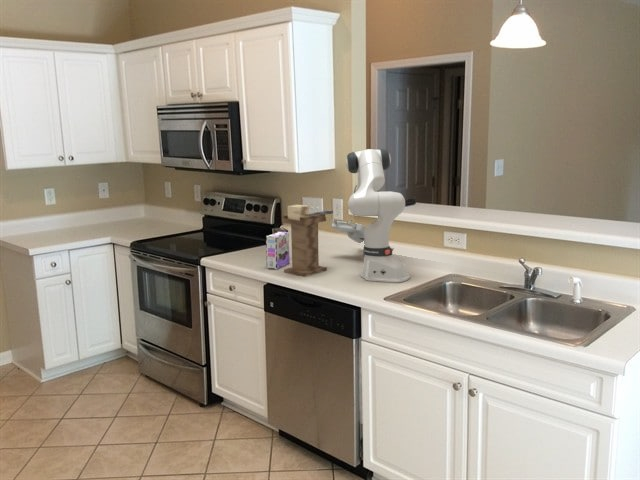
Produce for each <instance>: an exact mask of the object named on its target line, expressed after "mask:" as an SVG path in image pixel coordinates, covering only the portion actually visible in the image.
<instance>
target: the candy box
mask: <svg viewBox="0 0 640 480" xmlns="http://www.w3.org/2000/svg"><path fill="white" fill-rule="evenodd" d="M265 244H266V245H265V247H266V248H265V250H266V252H265V254H266V255H265V256H266V269H270V270H279V269H281V268H284V267H286V266H287V265H289V264H291V263H290V235H289V231H288V232H278V233H275V234H273V233H272V234H269V235H266V236H265Z"/></svg>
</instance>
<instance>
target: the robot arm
mask: <svg viewBox="0 0 640 480" xmlns="http://www.w3.org/2000/svg"><path fill="white" fill-rule="evenodd" d="M391 162H392V158H391V154H390V152H389V151H388V150H387V149H386V148H380V149H371V148H367V149H363V150H359V151H352V152H350V153H348V154H347V155H346V158H345V167H346V169H347V171H348V172H349V173H350V174H357V184H356V185H355V186H354V191H353V193H352V194H351V195H350V197H349V199H348V201H347V206H348V210H349V212H350V213H351V215H352V214H353V215H357V216H378V218H377V220H376V221H375V222H374V223H372V224H370V225H369V226H365V225H362V224H358V223H352V221H349V220H348V221H347V222H345V221H339V220H337V219H332V222H331V223H332V224H331V227H332V228H333V229H334V230H336V231H338V232H341V233H347V237H348V238H349V239H351V240H352V241H354V242H356V243H361V242H363V241H364V244H365V245H364V247H363V250H362V251H363V266H362V270H361V275H360V277H361V278H363V279H364V280H366V281H369V282H370V281H371V282H384V283H385V282H386V283H394V284H395V283H396V284H399V283H404V282H406V281H408V280H410V279H411V274H409V273H407V272H406V266H405V264H404V263H403V262H402V261H401V260H400V259H398V258H397V257H396V256H395V255H394V254H393V251H394V250H395V248H394V247H391V246H390V243H389V242H390V231H391V227H392V225H393V222H394V221H395V219H396V218H397V217H399V215H401V214H402V213H403V212H404V210H405V207H406V200H405V197H404V195H403V194H402V193H401V192H396V191H390V190H389V191H379V190H381V189H382V188H383V186H384V185H385V183H386V179H385V172H384V171H385V170H388V169H389V168H390V166H391Z"/></svg>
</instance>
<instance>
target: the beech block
mask: <svg viewBox="0 0 640 480" xmlns="http://www.w3.org/2000/svg"><path fill="white" fill-rule="evenodd" d="M318 214H325V216H326V215H330V214H334V210H332V209H326V210H321V211H320V210H319V211H314V212H310V206H309V205H305V204H292V205H287V215H288V219H293V220H300V217H306V216H312V215H318Z"/></svg>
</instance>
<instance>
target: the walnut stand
mask: <svg viewBox="0 0 640 480" xmlns="http://www.w3.org/2000/svg"><path fill="white" fill-rule="evenodd" d="M282 217H283V218H282V223H283V224H289V225H290V235H291V236H290V237H291V267H287V268H284V269H283V272H284V273H286V274H289V273H290V275H294V276H299V277H304V278H305V277H307V276H311V275H314V274H319V273H322V272H326V271H327V270H328V268H327V266H322V265H319V264H320V263H319V258H320V257H319V256H320V255H319V223H323V222H327V217H326V215H325V214H318V215H312V216H306V217H300V220H293V219H288V214H284V215H283V216H282Z"/></svg>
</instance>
